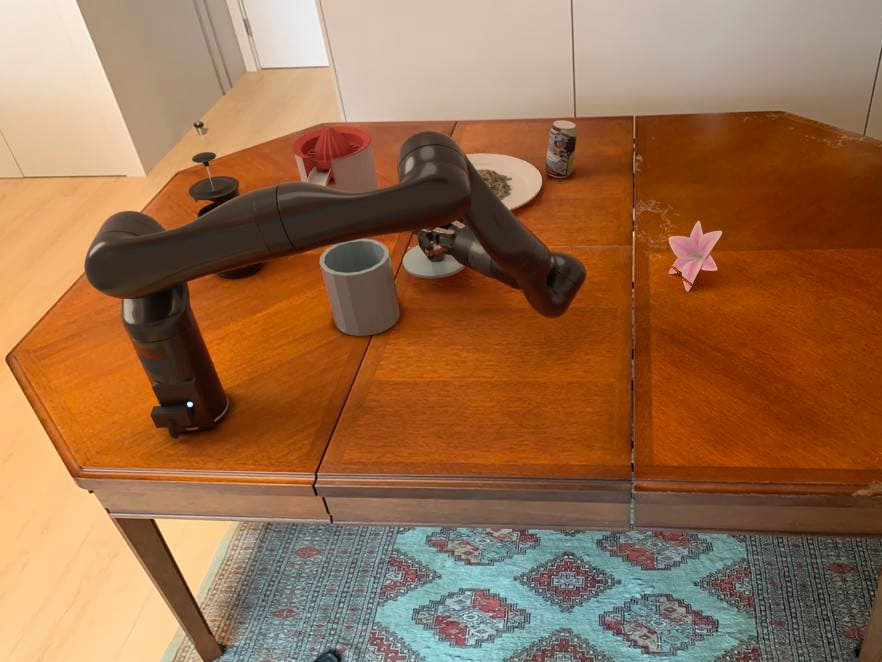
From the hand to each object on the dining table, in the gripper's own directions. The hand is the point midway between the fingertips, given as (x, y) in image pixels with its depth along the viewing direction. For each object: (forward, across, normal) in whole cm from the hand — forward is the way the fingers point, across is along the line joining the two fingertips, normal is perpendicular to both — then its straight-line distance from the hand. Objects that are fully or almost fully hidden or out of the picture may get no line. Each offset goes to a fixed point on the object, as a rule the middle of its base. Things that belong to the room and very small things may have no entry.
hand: (421, 221), depth 148 cm
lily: (-40, -31, +11) cm, 51 cm away
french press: (+31, +22, +11) cm, 40 cm away
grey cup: (-3, +17, +11) cm, 20 cm away
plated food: (+17, -29, +11) cm, 35 cm away
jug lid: (-3, 0, +7) cm, 8 cm away
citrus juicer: (+29, -2, +11) cm, 31 cm away
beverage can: (+7, -46, +11) cm, 48 cm away
